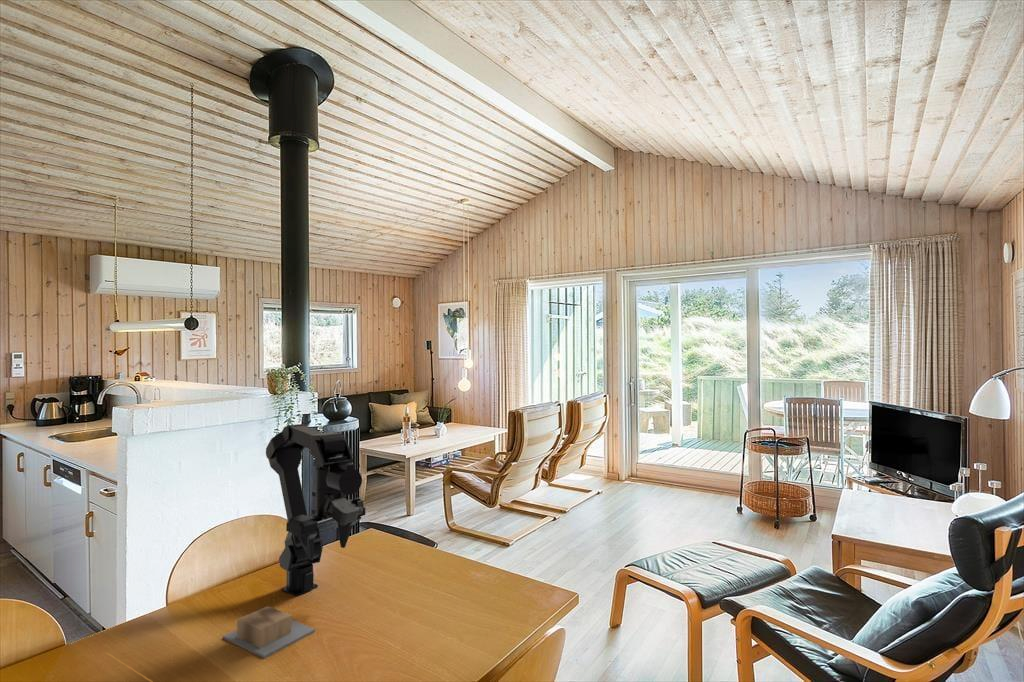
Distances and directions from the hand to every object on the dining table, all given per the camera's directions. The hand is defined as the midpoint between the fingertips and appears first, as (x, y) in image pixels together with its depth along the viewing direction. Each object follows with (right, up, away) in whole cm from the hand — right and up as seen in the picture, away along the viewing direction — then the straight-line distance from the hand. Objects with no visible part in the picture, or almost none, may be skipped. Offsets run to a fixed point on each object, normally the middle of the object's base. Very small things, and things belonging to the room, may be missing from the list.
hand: (327, 553), depth 126 cm
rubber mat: (-8, -12, -13) cm, 19 cm away
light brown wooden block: (-6, -10, -11) cm, 16 cm away
